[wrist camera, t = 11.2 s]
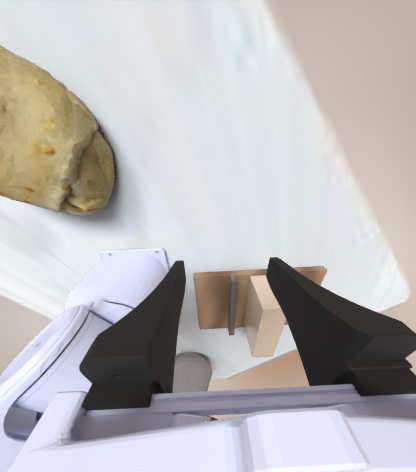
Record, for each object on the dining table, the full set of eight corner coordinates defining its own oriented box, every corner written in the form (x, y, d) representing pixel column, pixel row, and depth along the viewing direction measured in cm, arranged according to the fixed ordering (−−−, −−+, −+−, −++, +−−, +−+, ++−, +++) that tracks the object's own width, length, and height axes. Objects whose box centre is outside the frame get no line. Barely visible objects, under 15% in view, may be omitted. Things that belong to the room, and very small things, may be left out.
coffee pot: (191, 371, 43) (186, 465, 30) (159, 359, 39) (138, 462, 26) (249, 344, 37) (275, 449, 24) (219, 326, 33) (231, 441, 19)
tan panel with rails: (200, 324, 32) (199, 337, 30) (194, 273, 25) (193, 284, 22) (299, 319, 32) (307, 330, 30) (322, 266, 25) (334, 276, 23)
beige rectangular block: (243, 322, 30) (252, 357, 25) (249, 275, 24) (263, 309, 19) (260, 321, 30) (272, 356, 25) (270, 274, 24) (290, 308, 19)
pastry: (-63, 61, 12) (-404, -60, 5) (79, 43, 12) (-87, -109, 5) (43, 215, 19) (-49, 249, 12) (135, 205, 19) (96, 234, 12)
